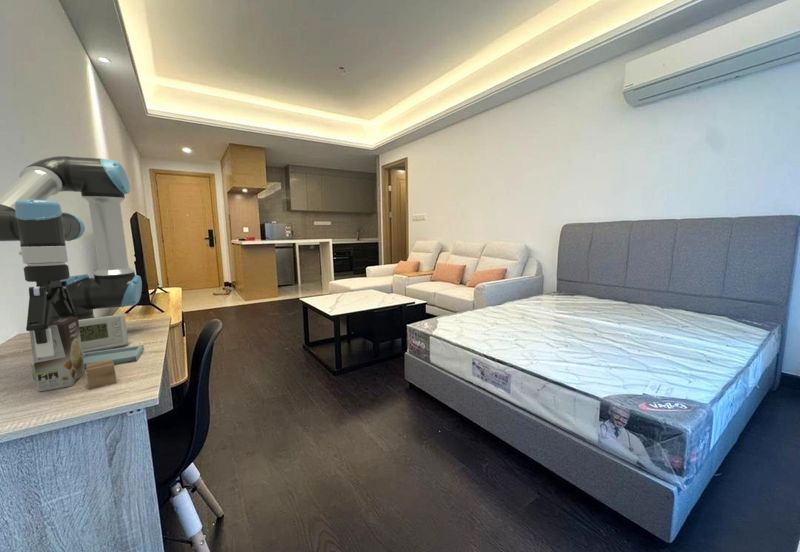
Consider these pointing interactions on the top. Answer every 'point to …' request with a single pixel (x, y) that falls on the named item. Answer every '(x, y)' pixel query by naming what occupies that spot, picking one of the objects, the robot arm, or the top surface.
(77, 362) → the coffee box
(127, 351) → the tray
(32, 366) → the sage block
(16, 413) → the top surface
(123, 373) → the top surface
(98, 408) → the top surface
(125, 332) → the digital clock
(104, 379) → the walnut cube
